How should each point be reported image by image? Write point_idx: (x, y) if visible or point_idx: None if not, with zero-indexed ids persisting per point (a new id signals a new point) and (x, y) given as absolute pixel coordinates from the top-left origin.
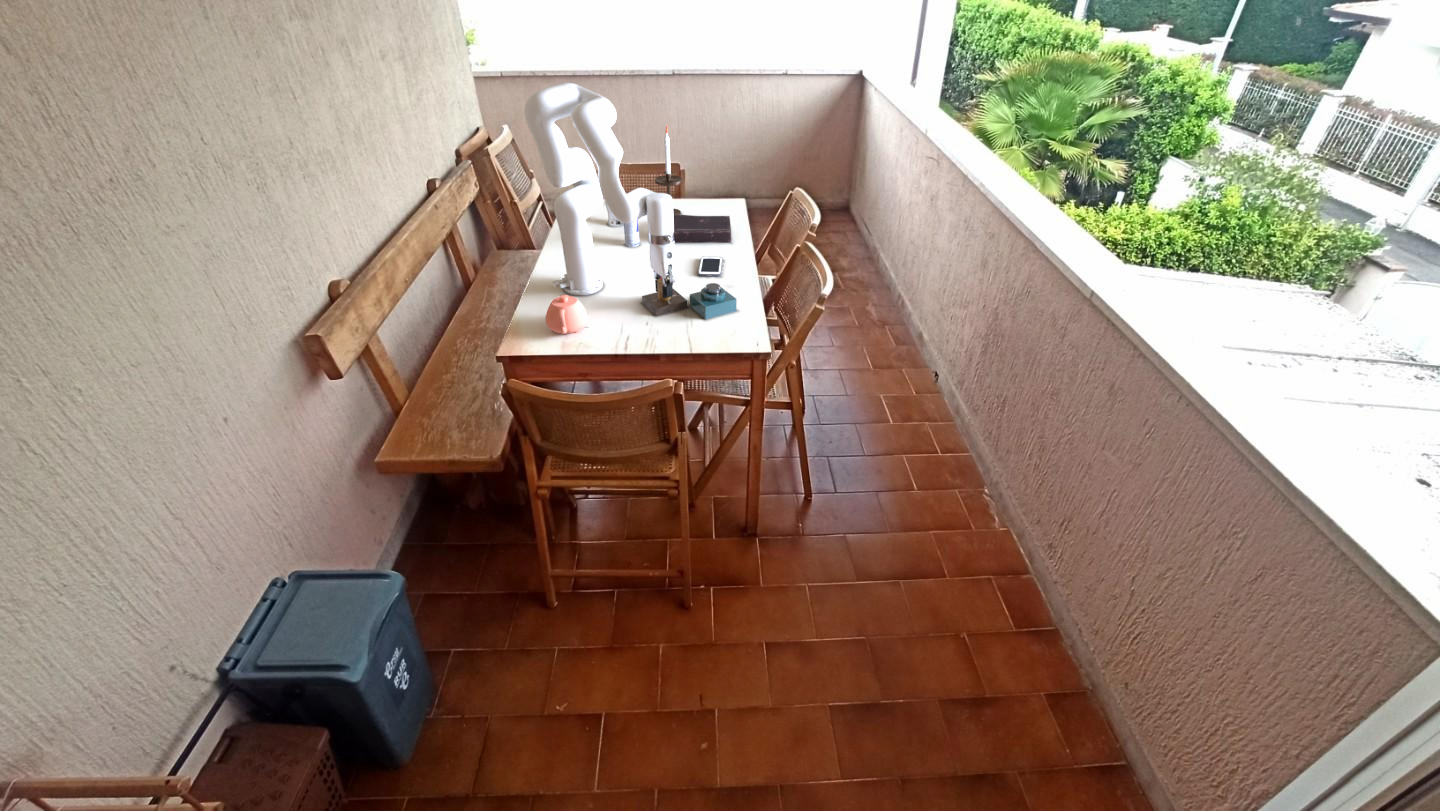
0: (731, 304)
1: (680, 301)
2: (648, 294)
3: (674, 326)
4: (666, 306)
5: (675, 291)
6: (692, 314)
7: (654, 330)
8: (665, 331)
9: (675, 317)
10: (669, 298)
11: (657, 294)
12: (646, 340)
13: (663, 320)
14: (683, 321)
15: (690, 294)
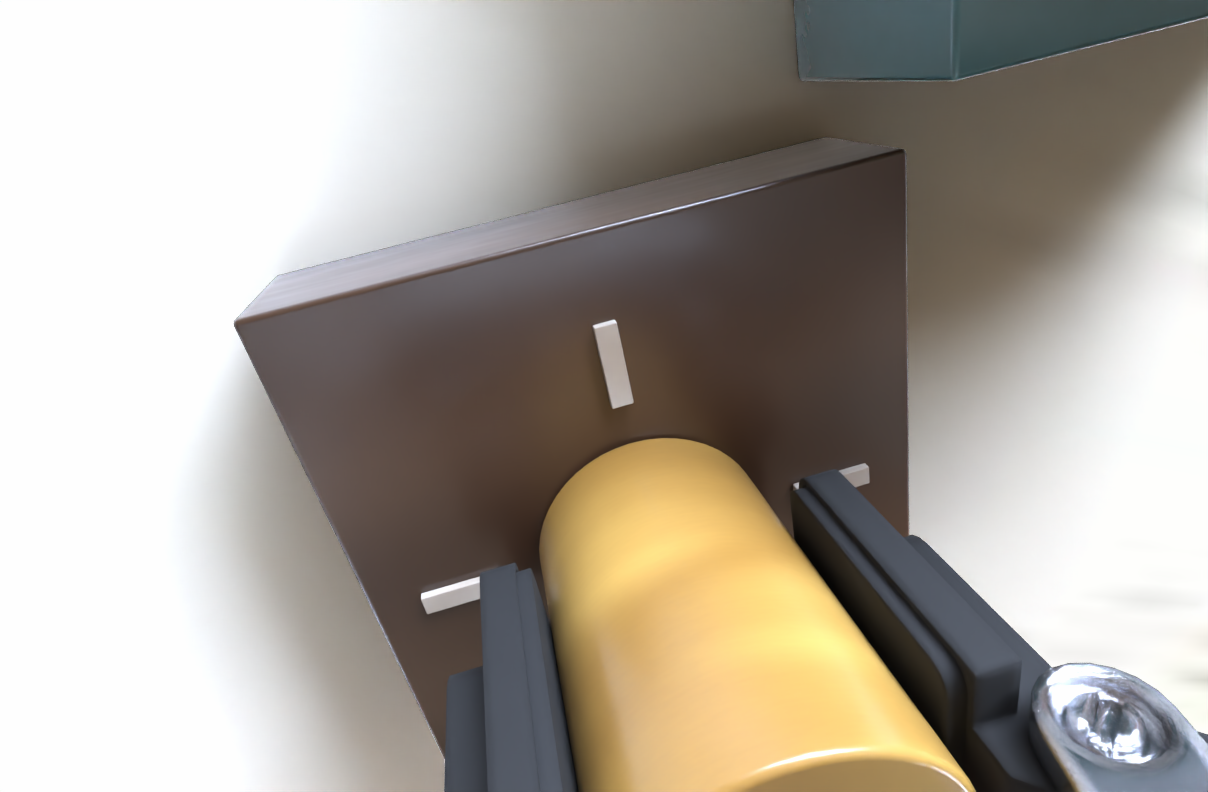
0: None
1: (880, 297)
2: (439, 735)
3: (1162, 432)
4: (908, 531)
5: (420, 298)
6: (1050, 123)
7: (1102, 622)
8: (1184, 532)
9: (992, 384)
10: (750, 481)
11: (475, 621)
12: (1198, 686)
13: (978, 525)
14: (1135, 306)
15: (975, 61)
